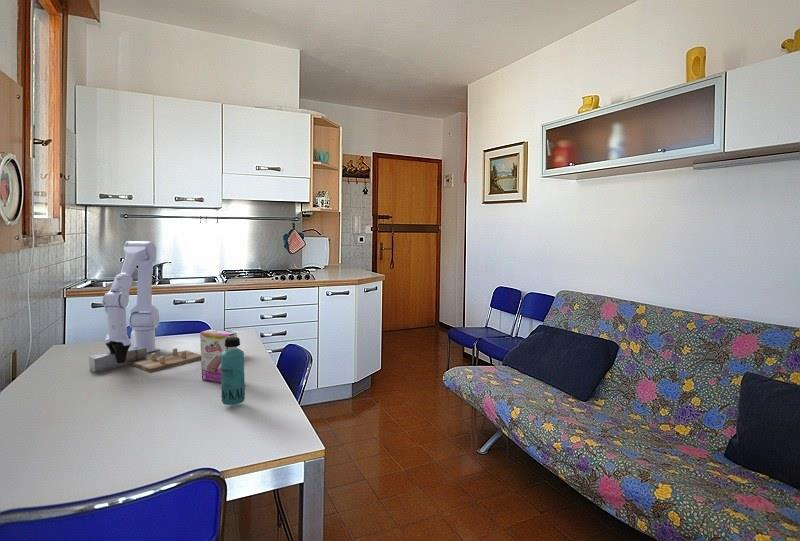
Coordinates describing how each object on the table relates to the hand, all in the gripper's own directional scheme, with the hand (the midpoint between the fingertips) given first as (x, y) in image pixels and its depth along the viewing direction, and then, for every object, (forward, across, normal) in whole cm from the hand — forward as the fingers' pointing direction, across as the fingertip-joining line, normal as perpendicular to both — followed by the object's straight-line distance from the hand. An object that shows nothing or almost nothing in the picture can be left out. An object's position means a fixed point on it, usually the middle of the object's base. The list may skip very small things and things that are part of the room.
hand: (119, 361), depth 168 cm
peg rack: (+1, +10, +13) cm, 16 cm away
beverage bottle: (+2, +64, +3) cm, 64 cm away
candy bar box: (+2, +42, +13) cm, 44 cm away
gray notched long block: (+1, 0, 0) cm, 1 cm away
